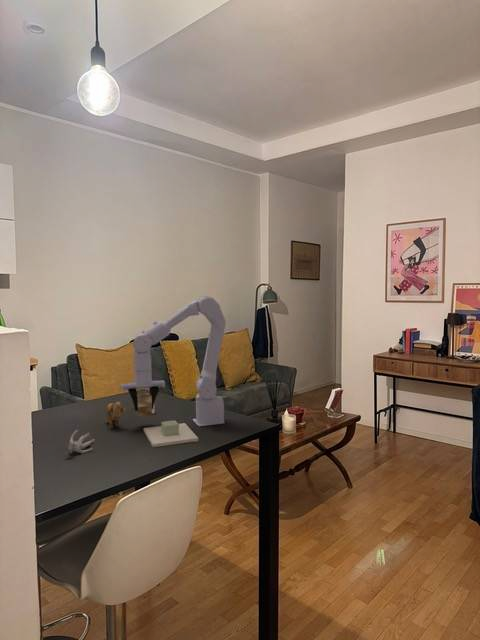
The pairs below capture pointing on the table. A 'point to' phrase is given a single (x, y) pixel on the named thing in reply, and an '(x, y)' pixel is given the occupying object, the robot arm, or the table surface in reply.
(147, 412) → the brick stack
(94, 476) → the table surface
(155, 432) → the board
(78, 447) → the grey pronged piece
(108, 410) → the lion figurine
